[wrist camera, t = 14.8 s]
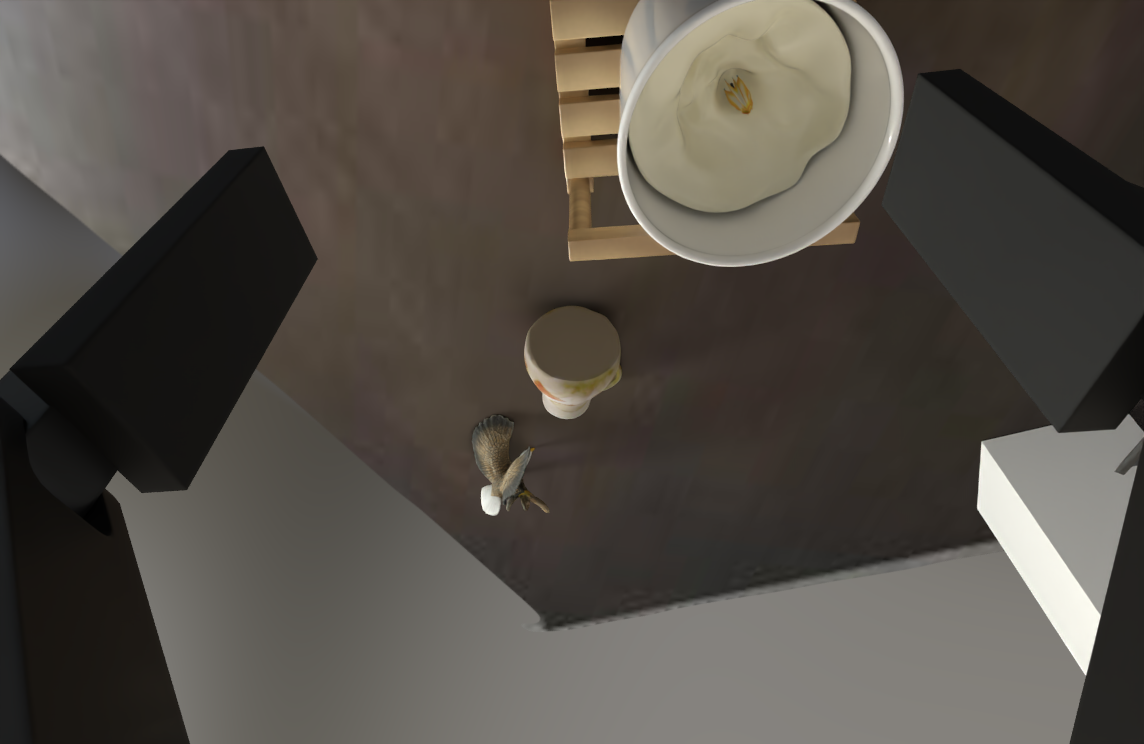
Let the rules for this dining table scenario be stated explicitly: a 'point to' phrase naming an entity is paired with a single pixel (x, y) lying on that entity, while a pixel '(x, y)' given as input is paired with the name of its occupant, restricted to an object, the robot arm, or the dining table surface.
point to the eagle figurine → (501, 466)
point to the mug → (572, 358)
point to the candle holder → (753, 122)
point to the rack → (604, 127)
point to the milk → (1060, 518)
